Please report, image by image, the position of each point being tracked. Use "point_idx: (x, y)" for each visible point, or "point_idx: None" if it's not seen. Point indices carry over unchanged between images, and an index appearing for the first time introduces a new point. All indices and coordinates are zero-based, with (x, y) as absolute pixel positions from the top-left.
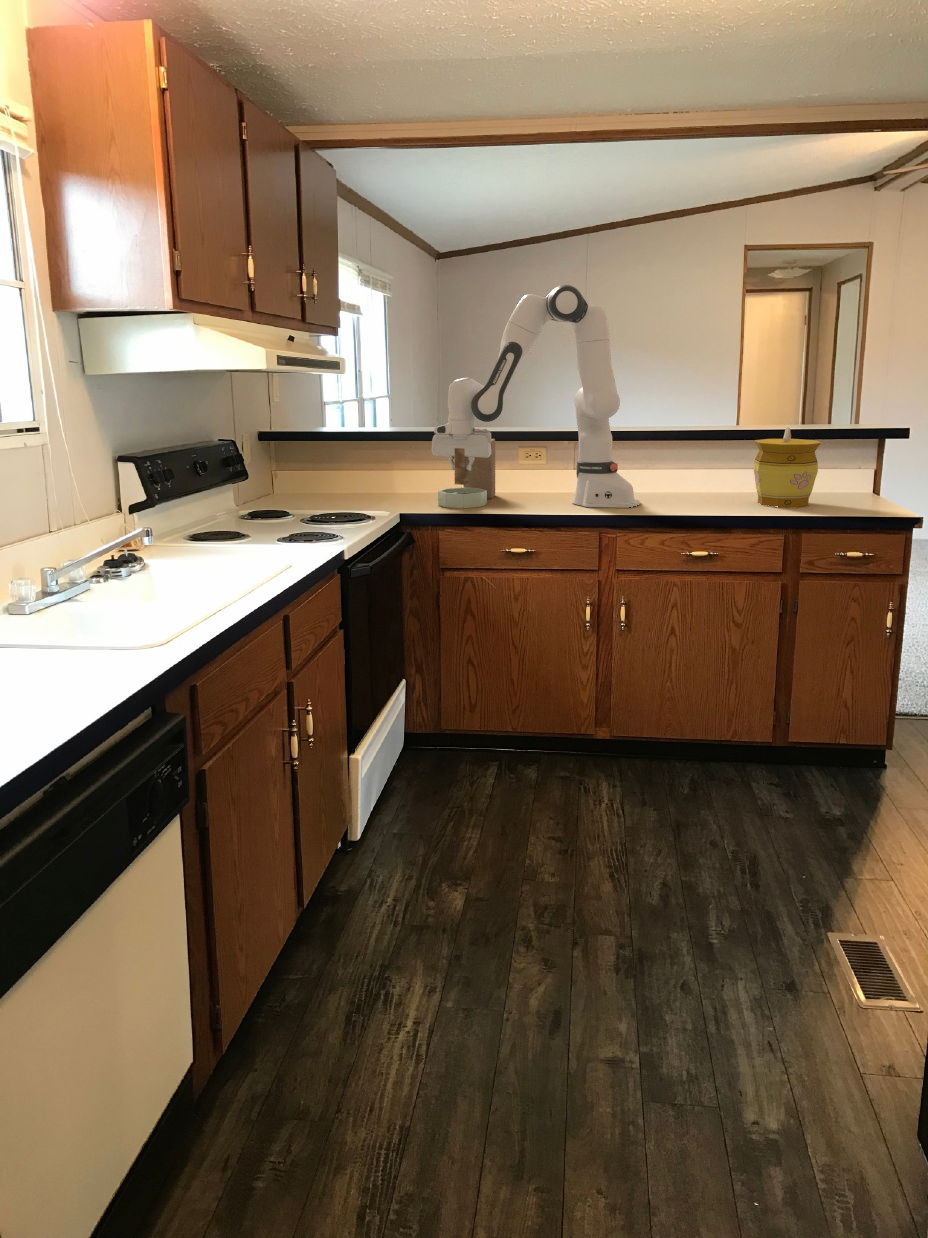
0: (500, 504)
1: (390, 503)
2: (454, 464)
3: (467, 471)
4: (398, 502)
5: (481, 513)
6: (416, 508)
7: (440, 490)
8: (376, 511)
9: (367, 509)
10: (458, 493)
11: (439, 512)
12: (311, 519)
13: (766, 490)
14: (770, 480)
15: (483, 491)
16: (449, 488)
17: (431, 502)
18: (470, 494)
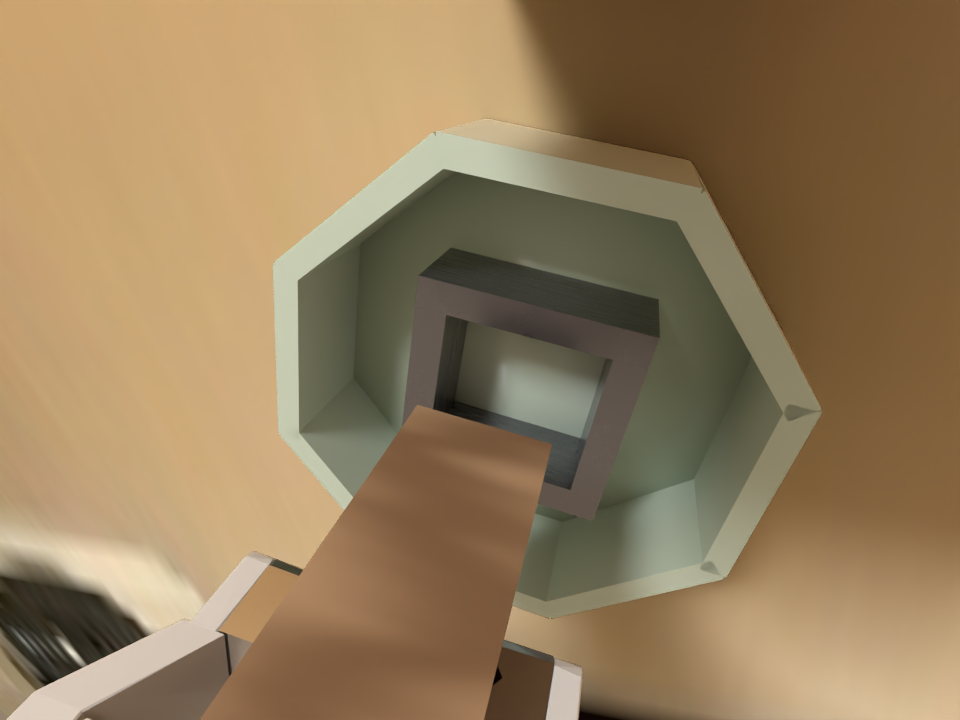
0: (951, 368)
1: (26, 306)
2: (230, 656)
3: (513, 592)
4: (41, 259)
5: (710, 711)
6: (265, 502)
7: (284, 393)
8: (128, 560)
9: (57, 504)
10: (456, 312)
11: None
12: (37, 667)
13: None
14: None
15: (765, 495)
16: (319, 245)
17: (251, 251)
18: (614, 597)
